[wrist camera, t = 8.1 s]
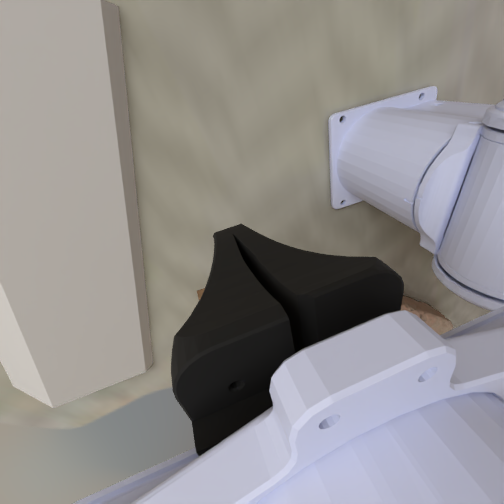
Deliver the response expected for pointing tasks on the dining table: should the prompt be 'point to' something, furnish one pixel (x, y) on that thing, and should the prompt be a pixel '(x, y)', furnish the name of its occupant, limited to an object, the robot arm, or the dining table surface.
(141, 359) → the crown molding
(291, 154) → the dining table surface
